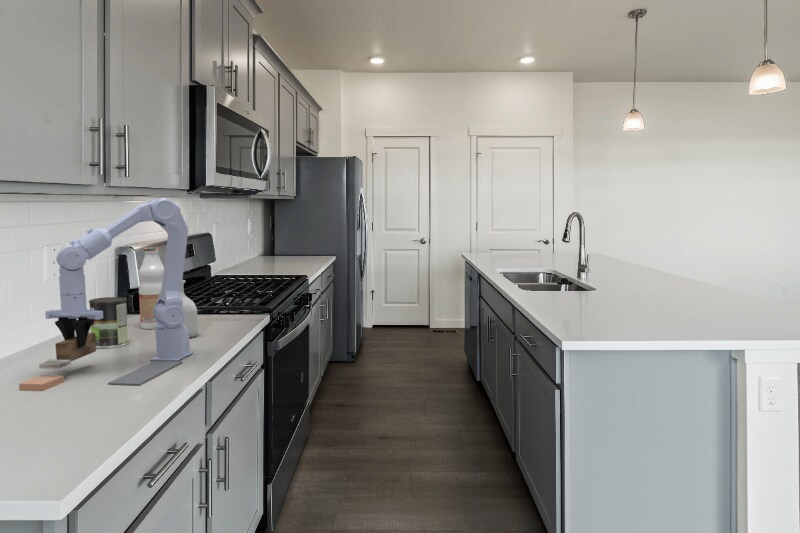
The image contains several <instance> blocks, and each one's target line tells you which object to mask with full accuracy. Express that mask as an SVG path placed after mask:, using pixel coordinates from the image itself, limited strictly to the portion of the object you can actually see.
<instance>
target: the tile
mask: <svg viewBox="0 0 800 533" xmlns="http://www.w3.org/2000/svg"><path fill="white" fill-rule="evenodd" d="M60 383H61V384H64V383H65V377H64V375H50V374H48V375H45V374H44V375H43V374H40V375H37V376H35V377H32V378H29V379H27V380H25V381H23V382H19V383H18V385H19V386H18V387H19V391H33V392H34V391H35V392H36V391H39V392H45V391H47V390H49V389H51V388H53V387H56V386H59V385H61V384H60ZM58 384H59V385H58Z"/></svg>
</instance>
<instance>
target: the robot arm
mask: <svg viewBox="0 0 800 533" xmlns="http://www.w3.org/2000/svg"><path fill="white" fill-rule="evenodd" d="M145 222H154V223H155V224H157V225H159V226H160V227H161V228H162V229H163V230H164V231H165V232H166V234H167V241H166V243H167V244H166V249H165V257H164V259H165V260H164V264H163V266H164V273H163V282H162V290H161V292H160V294H159V296H158V302H157V304H156V305H155V307H154V309H153V315H154V317H155V319H156V320H157V324H156V325H155V327H156V329H155V344H156V348H155V349H156V355H155V356H153V357H152V358H150V361H180V360H182V359H184V358H187V357H188V356H190V355H192V354H193V351H191V350H190V349H191V346H190V345H191V344H190V337H189V330H188V328H187V327H186V326H185V325H184V324H183V323H182V322H183V320H184V318H185V312H184V309H183V299H182V295H181V287H182V280H184V279H183V278H184V268H185V261H186V254H187V253H186V252H187V251H186V250H187V246H188V245H187V244H188V234H189V228H188V226H187V223H186V220H185V219H184V217H183V215H182V211H181V207H179V205H178V204H176V202H174V201H173V199H171V198H168V197H160V198H151V199H149V200H148V201H147V202H144V203H142V204H139V205H138V206H135V207H134V208H132V209H131V210H129V211H128V212H126V213H125V214H124V215H122V216H121V217H120V218H118V219H116V220H115V221H114V222H112V223H111V224H109V225H108V226H106V227H105V228H101V227H95V228H94V229H93V228H89V229H87V230H86V234H85V235H82V236H81V237H80V238H78V239H76V240H71V241H70V242H69V243H70V245H68V246H64V247H62V248H61V249H60V250H58V252H57V256H56V258H55V260H56V263H57V264H58V265H59V269H58V273H59V276H58V281H59V282H58V283H59V296H60V309H49V310H45V314H44V315H45V320H47V319H57V320H56V321H54V325H56V327H57V328H58V330H59V331H60V332H61V333H60V334H61V335H62V337H63V339H64V340H67V339H70V338H73V337H75V336H76V338H77V346H78V348H81V347H84V346H85V345H86V340H87V336H88V333H90V331H91V325H92V323H93V322H94V319H96V320H99V319H102V318H103V311H97V310H90V309H88V308H87V293H86V290H87V289H86V277H85V276H86V275H85V274H84V272H85V271H84V266H85V265H86V263H87V261H88V260H92V259H93V258H95V257H96V256H98V255H99V254H100V253H102V252H104V251H105V250H107V249H108V248H110V247H112V243H113V239H114V238H116V237H117V236H119V235H121V234H123V233H124V232H126V231H128V230H129V229H131V228H132V227H134V226H136V225H138V224H139V223H145ZM64 340H63V341H64Z"/></svg>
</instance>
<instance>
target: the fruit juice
mask: <svg viewBox="0 0 800 533" xmlns="http://www.w3.org/2000/svg"><path fill="white" fill-rule="evenodd" d="M159 252H160V249H159V247H157V246H156V247H154V246H153V247H151V246H150V247H143V253H144V257H143V260H142V263H141V266H140V268H139V270H138V278H139V281H140V283H139V285H138V295H139V296H138V298H139V299H138V300H139V301H138V302H139V316H140V317H139V318H140V319H139V321H140V327H141V329H144V330H156V327H155V325H156V324H157V320H156V319H155V317H154V315H153V309H154V307H155V305H156V304H157V302H158V296H159V294H160V292H161V290H162V282H163V273H164V264H163V262H162V260H161V257H160V254H159Z"/></svg>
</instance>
